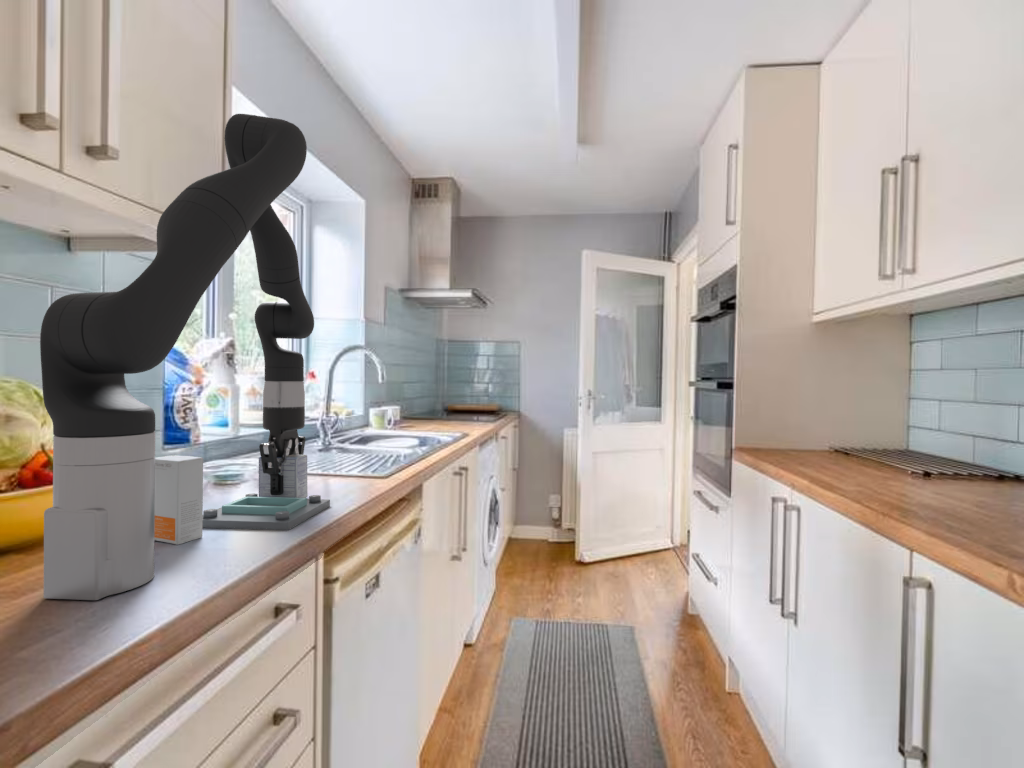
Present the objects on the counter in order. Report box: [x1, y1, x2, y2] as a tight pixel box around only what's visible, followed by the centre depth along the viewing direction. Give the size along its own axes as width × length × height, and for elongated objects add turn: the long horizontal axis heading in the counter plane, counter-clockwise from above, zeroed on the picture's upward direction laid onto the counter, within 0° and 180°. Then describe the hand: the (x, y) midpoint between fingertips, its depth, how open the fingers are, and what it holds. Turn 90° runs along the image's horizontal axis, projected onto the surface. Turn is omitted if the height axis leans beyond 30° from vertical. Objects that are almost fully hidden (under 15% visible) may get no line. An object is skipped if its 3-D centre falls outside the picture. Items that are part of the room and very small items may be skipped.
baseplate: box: [202, 492, 331, 531], centre depth 91 cm, size 16×16×2 cm
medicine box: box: [258, 454, 309, 498], centre depth 103 cm, size 8×4×9 cm, turn 84°
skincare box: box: [154, 454, 204, 546], centre depth 78 cm, size 6×4×12 cm
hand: (283, 491), depth 103 cm, fingers closed on medicine box, 4 cm apart
